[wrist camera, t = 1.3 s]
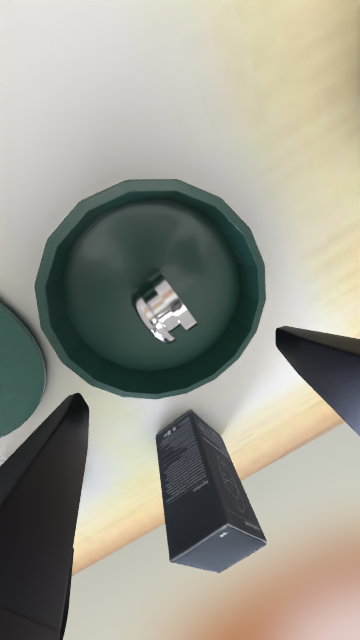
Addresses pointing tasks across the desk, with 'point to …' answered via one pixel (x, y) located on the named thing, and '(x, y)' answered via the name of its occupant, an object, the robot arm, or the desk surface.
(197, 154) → the desk surface
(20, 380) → the tin lid
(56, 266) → the tin
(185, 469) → the box
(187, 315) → the grooved metal pulley
